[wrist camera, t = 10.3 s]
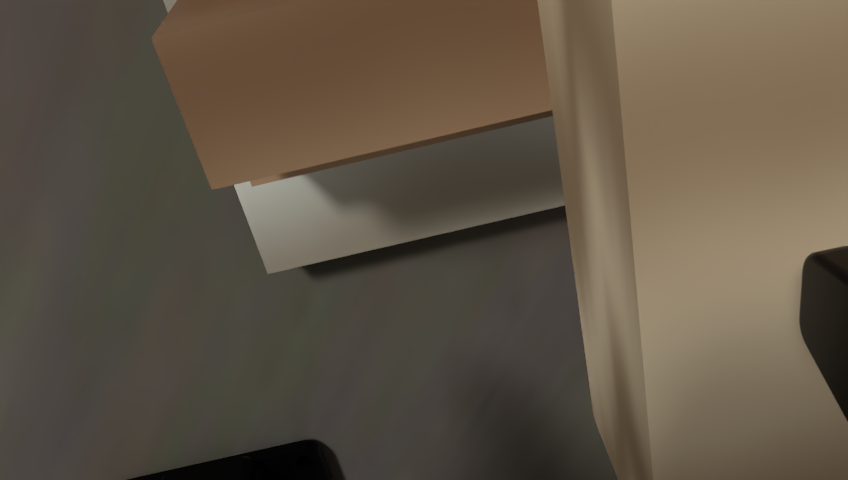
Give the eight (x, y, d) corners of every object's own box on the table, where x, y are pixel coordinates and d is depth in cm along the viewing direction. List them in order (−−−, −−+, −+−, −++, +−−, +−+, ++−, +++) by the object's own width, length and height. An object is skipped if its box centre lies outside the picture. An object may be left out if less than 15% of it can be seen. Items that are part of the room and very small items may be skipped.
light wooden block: (742, 385, 16) (852, 556, 12) (593, 417, 16) (663, 596, 13) (741, -858, 8) (1069, -1368, 4) (432, -775, 8) (506, -1206, 4)
